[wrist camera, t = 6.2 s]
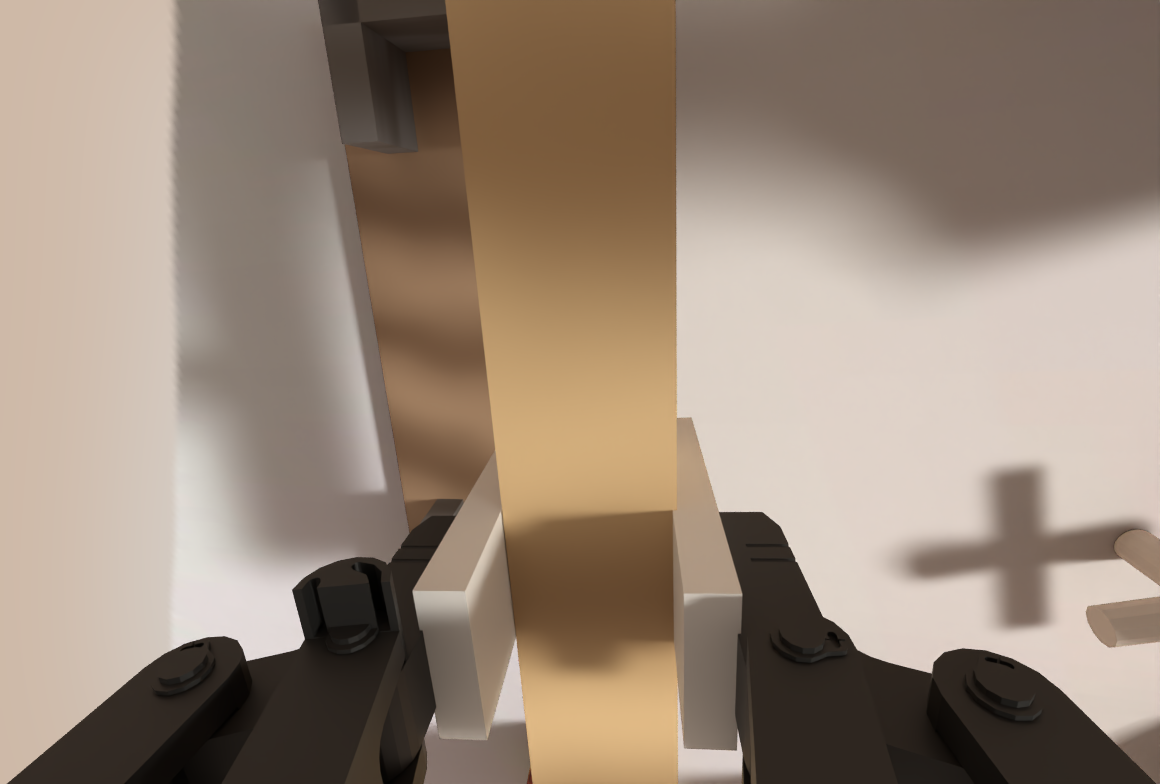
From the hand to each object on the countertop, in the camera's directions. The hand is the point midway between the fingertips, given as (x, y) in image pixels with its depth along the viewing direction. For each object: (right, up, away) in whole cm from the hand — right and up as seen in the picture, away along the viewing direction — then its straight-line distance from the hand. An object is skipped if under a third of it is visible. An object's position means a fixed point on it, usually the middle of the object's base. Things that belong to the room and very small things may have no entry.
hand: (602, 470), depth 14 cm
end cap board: (-5, +5, +15) cm, 17 cm away
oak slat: (0, 0, +1) cm, 1 cm away
